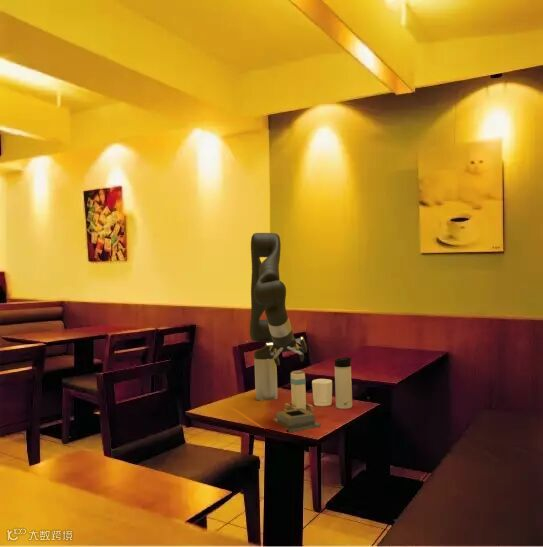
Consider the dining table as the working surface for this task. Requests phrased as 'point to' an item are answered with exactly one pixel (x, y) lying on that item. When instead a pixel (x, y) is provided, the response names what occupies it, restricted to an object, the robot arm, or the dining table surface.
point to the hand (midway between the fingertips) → (290, 361)
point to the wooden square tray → (289, 407)
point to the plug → (298, 389)
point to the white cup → (322, 392)
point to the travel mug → (343, 383)
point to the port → (296, 420)
